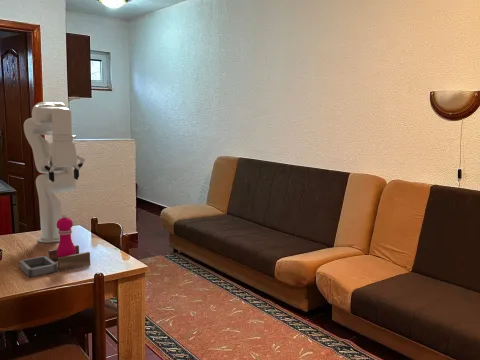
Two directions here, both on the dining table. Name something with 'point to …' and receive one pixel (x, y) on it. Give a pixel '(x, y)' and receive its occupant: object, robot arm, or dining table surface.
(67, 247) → the pepper mill
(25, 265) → the tray
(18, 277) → the dining table surface
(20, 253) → the dining table surface
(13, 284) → the dining table surface
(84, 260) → the walled lane
